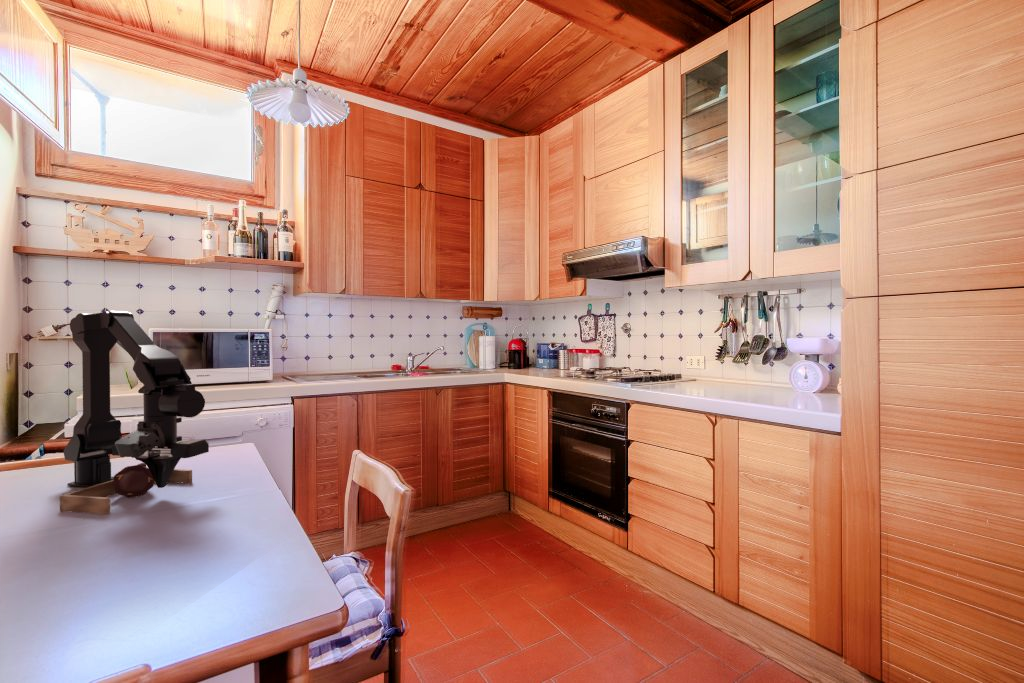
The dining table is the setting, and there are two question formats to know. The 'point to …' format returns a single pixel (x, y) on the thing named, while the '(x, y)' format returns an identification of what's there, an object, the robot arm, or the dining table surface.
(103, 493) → the holder
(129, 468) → the icecream
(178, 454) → the robot arm
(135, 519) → the dining table surface
